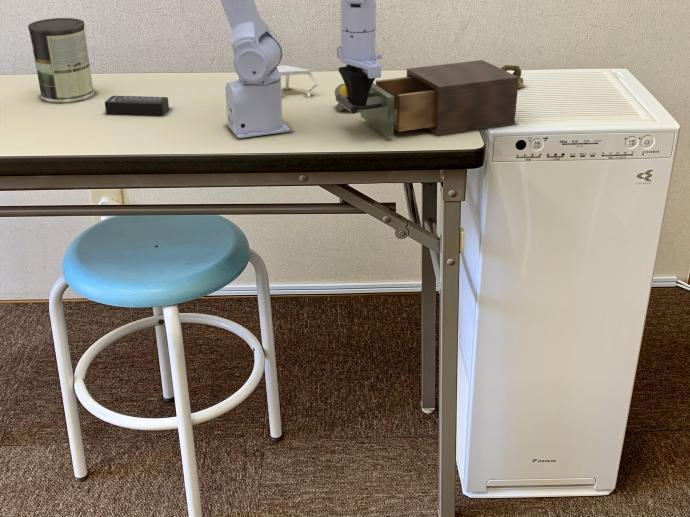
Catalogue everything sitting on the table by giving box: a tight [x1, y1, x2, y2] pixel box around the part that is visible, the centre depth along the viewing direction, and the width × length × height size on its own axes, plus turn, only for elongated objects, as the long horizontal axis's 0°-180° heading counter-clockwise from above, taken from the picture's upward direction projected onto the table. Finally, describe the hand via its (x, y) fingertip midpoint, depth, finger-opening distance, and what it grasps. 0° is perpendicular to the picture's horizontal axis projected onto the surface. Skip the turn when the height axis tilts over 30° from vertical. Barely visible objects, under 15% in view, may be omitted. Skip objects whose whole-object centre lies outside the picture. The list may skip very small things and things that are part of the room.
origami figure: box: [277, 65, 319, 98], centre depth 165 cm, size 12×8×5 cm
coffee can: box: [27, 17, 95, 104], centre depth 163 cm, size 10×10×14 cm
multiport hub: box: [104, 95, 170, 117], centre depth 156 cm, size 4×11×2 cm, turn 84°
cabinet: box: [406, 59, 519, 137], centre depth 150 cm, size 16×13×9 cm
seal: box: [500, 64, 524, 89], centre depth 170 cm, size 9×5×15 cm
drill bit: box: [334, 83, 348, 112], centre depth 155 cm, size 5×5×10 cm
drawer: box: [335, 76, 437, 138], centre depth 145 cm, size 20×11×7 cm, turn 112°
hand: (357, 109), depth 143 cm, fingers closed, pressing on drawer
